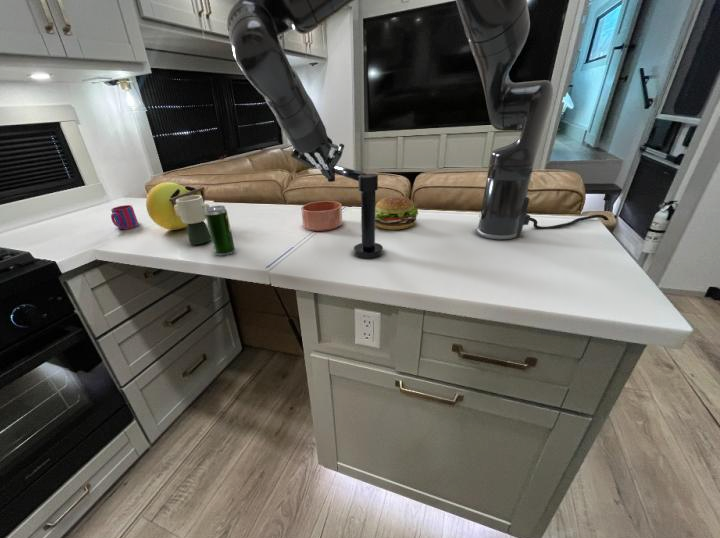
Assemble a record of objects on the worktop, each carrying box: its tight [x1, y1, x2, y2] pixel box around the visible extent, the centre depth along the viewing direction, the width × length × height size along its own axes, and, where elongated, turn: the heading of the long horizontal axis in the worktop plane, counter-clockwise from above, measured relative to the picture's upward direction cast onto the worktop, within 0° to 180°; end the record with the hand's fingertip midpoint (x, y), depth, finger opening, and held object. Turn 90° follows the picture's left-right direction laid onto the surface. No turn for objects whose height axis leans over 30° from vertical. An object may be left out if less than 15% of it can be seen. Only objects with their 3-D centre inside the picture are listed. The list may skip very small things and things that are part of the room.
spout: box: [327, 164, 379, 192], centre depth 81 cm, size 24×4×4 cm, turn 21°
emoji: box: [145, 181, 206, 231], centre depth 108 cm, size 16×16×15 cm
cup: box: [110, 204, 140, 230], centre depth 116 cm, size 7×10×7 cm
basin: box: [300, 200, 343, 232], centre depth 101 cm, size 12×12×6 cm
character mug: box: [174, 195, 212, 245], centre depth 94 cm, size 11×7×13 cm, turn 79°
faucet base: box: [353, 191, 384, 260], centre depth 77 cm, size 7×7×15 cm
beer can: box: [205, 204, 236, 257], centre depth 86 cm, size 5×5×12 cm
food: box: [375, 195, 419, 231], centre depth 97 cm, size 14×14×8 cm
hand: (330, 175), depth 79 cm, fingers closed
